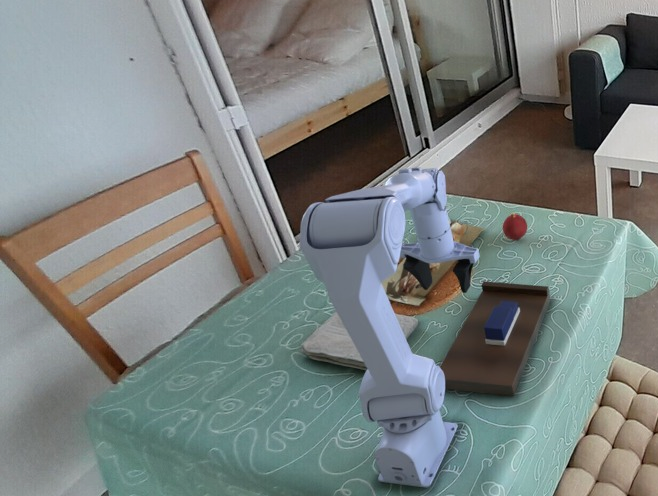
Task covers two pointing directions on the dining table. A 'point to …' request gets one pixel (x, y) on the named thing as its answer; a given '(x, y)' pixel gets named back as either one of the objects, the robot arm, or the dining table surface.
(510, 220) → the onion
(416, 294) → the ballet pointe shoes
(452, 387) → the shoe shelf
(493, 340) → the trainer
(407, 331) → the washcloth
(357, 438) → the dining table surface
